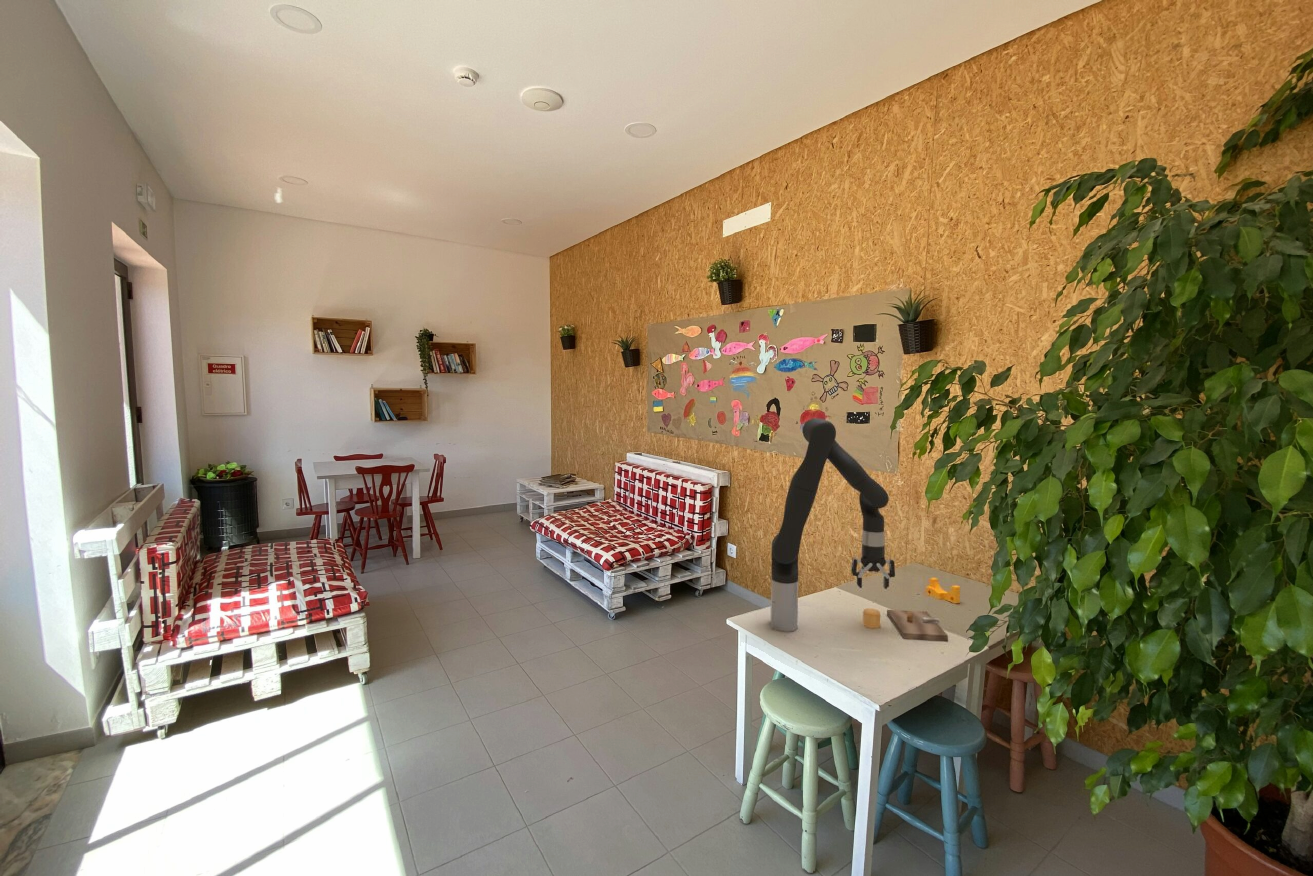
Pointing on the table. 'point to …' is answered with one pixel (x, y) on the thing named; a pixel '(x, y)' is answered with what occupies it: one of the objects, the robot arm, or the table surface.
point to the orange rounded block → (871, 618)
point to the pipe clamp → (939, 593)
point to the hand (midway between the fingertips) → (872, 587)
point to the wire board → (917, 625)
